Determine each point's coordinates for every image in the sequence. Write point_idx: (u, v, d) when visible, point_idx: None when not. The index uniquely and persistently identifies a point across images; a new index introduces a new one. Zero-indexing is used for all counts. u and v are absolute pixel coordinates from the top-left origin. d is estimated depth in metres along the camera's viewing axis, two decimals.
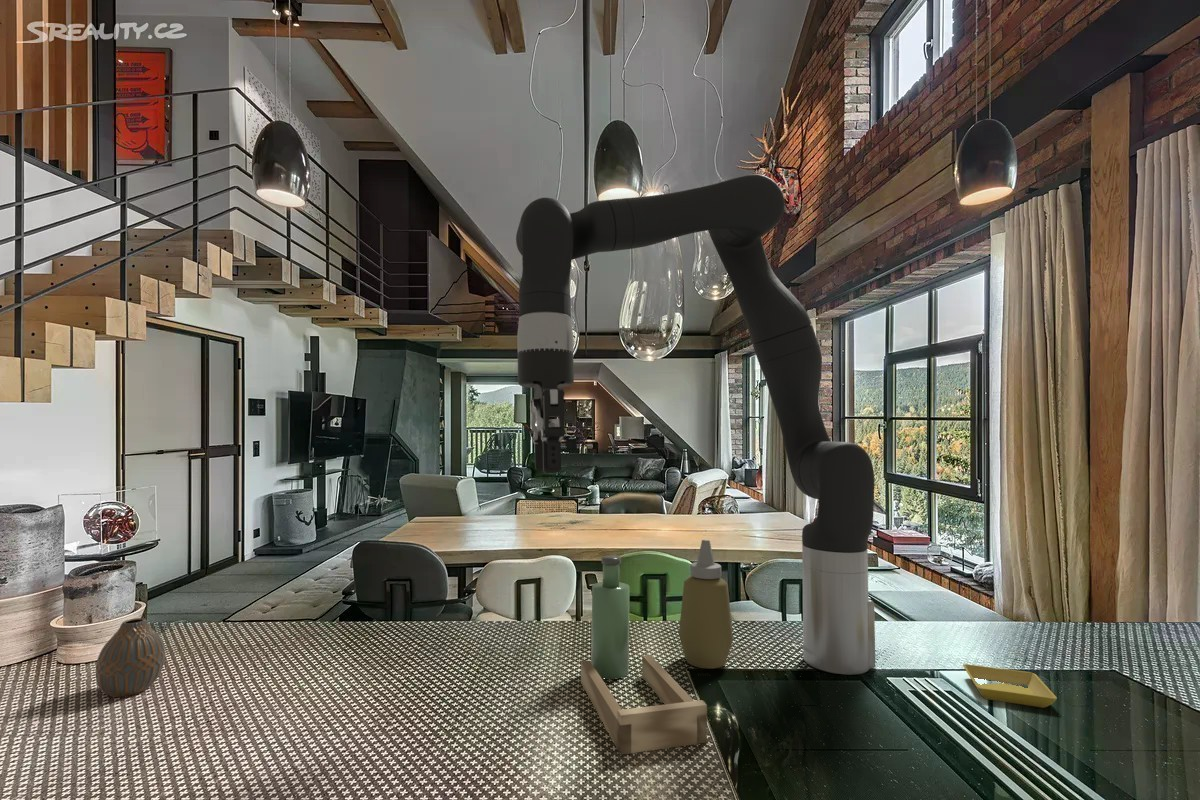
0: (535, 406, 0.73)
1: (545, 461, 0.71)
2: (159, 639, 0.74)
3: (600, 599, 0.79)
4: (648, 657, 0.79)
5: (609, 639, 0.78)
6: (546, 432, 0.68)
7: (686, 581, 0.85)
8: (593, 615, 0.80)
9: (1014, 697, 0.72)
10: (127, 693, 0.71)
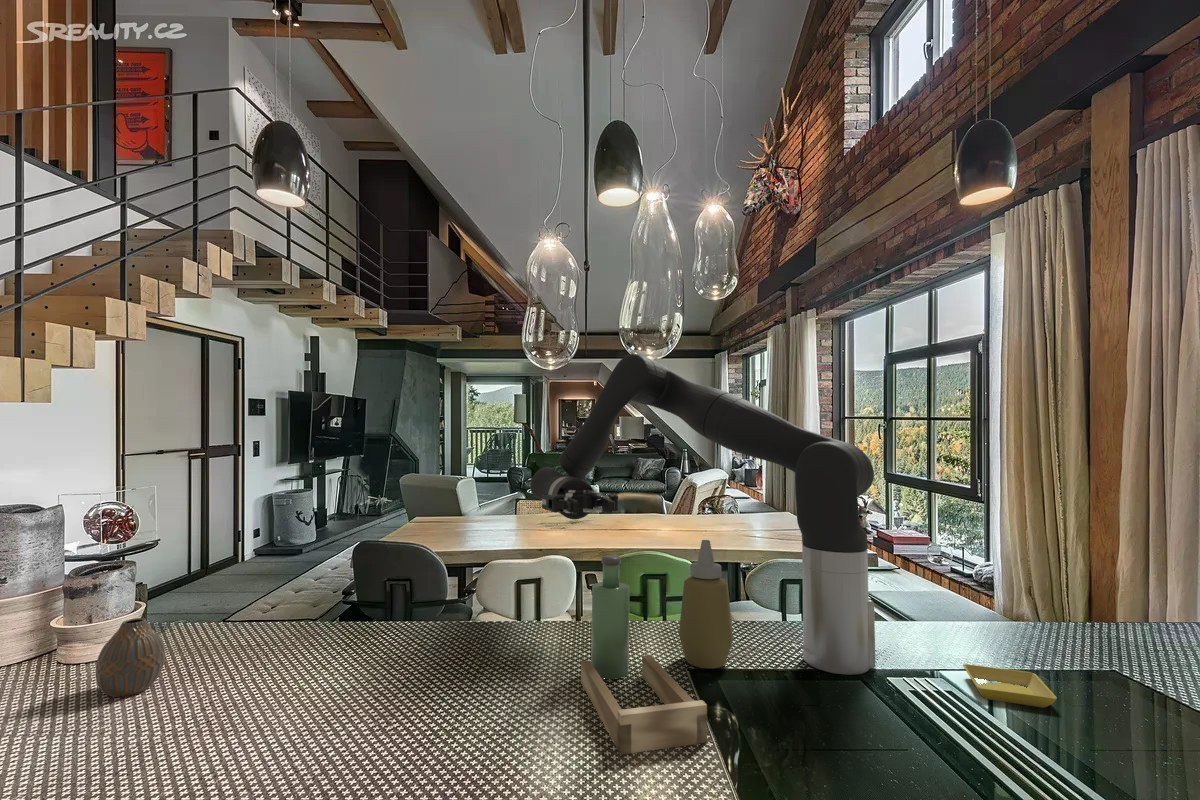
0: None
1: (571, 512, 0.93)
2: (159, 639, 0.74)
3: (600, 599, 0.79)
4: (648, 657, 0.79)
5: (609, 639, 0.78)
6: (552, 510, 0.95)
7: (686, 581, 0.85)
8: (593, 615, 0.80)
9: (1014, 697, 0.72)
10: (127, 693, 0.71)
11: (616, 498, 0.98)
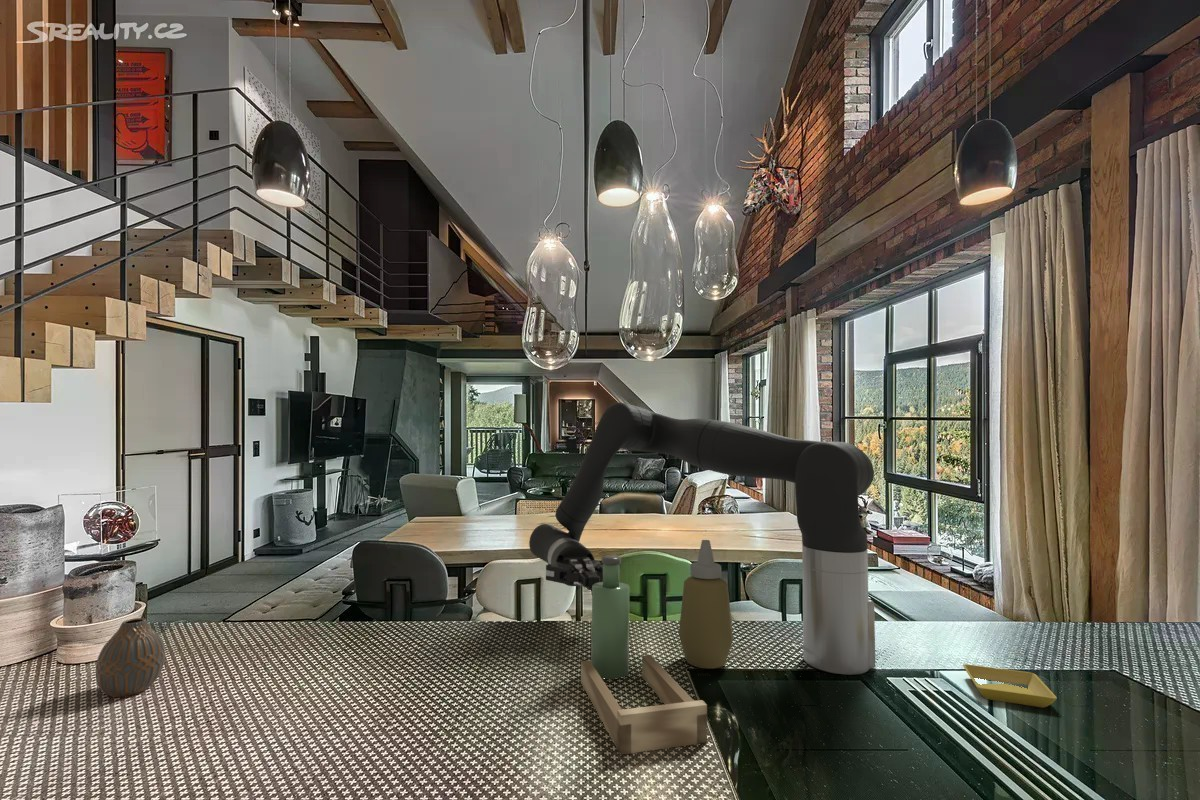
0: None
1: (586, 586, 0.92)
2: (159, 639, 0.74)
3: (600, 599, 0.79)
4: (648, 657, 0.79)
5: (609, 639, 0.78)
6: (568, 583, 0.94)
7: (686, 581, 0.85)
8: (593, 615, 0.80)
9: (1014, 697, 0.72)
10: (127, 693, 0.71)
11: (602, 570, 0.96)
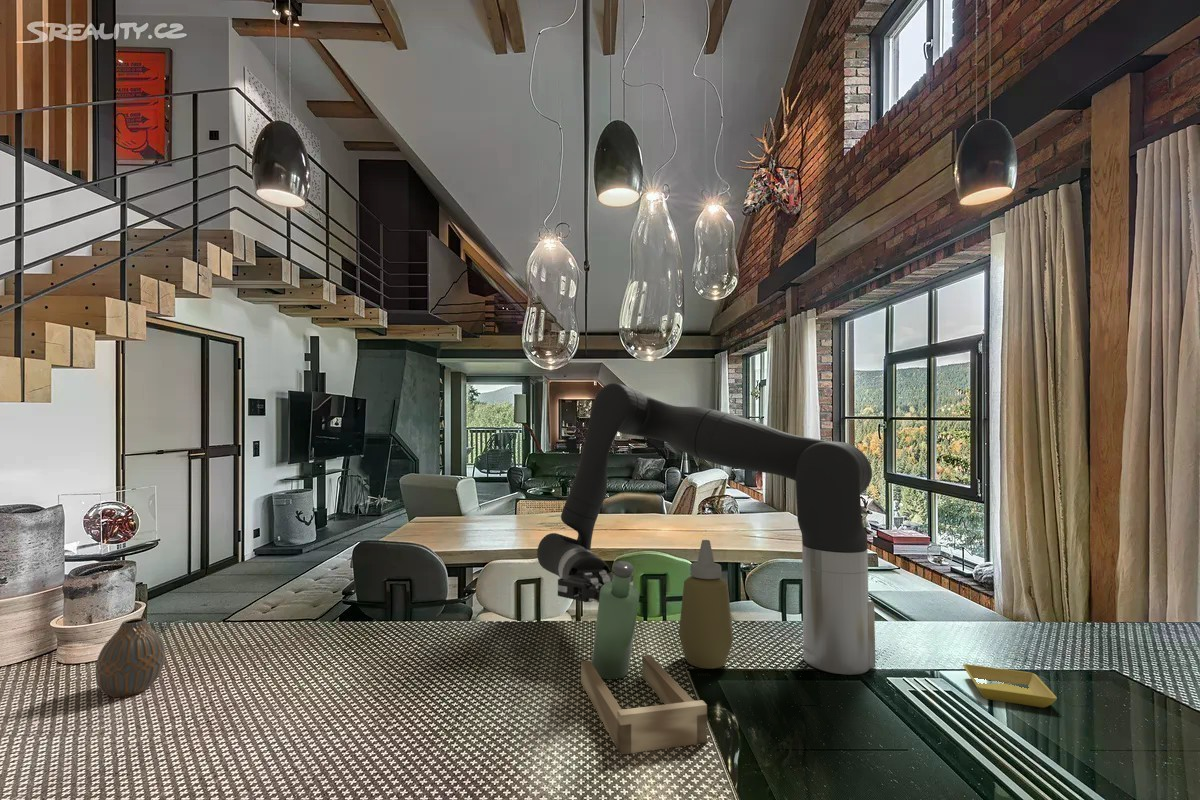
0: None
1: None
2: (159, 639, 0.74)
3: (607, 609, 0.76)
4: (648, 657, 0.79)
5: (613, 646, 0.77)
6: (583, 600, 0.85)
7: (686, 581, 0.85)
8: (599, 619, 0.77)
9: (1014, 697, 0.72)
10: (127, 693, 0.71)
11: None
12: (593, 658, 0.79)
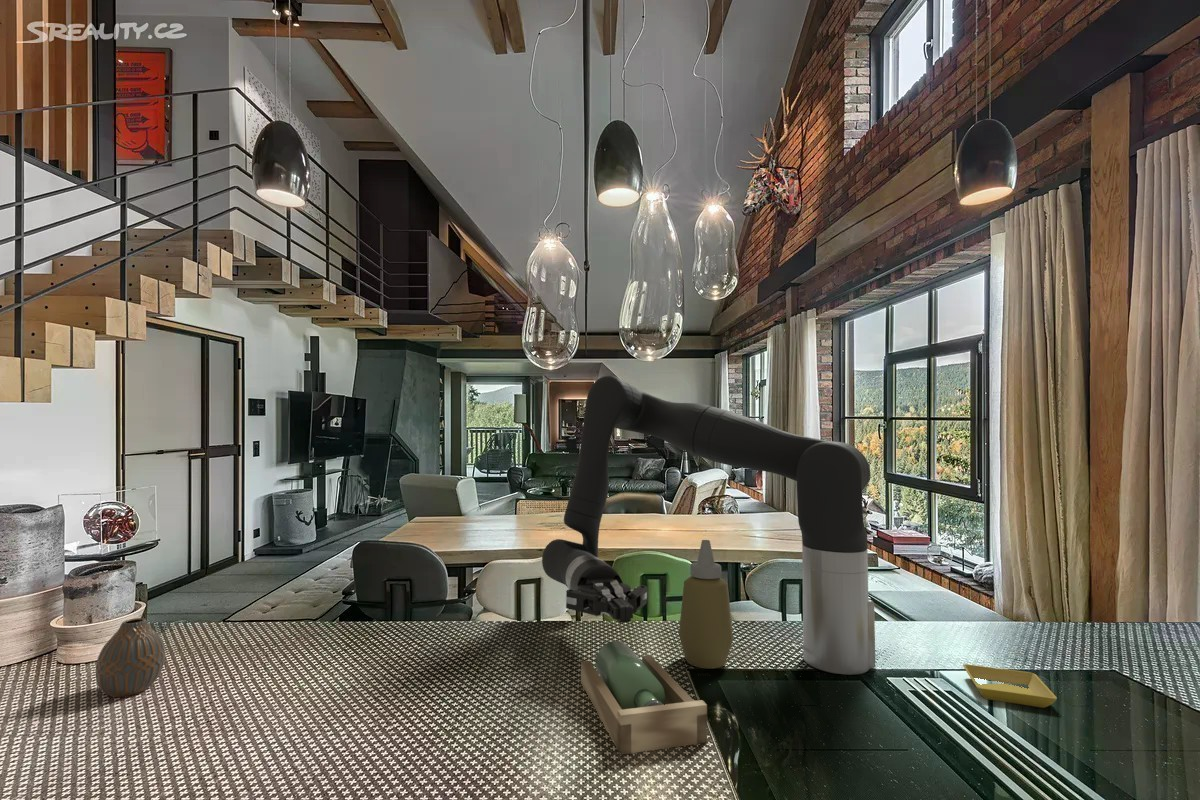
0: None
1: None
2: (159, 639, 0.74)
3: None
4: (648, 657, 0.79)
5: None
6: (594, 614, 0.78)
7: (686, 581, 0.85)
8: (612, 692, 0.70)
9: (1014, 697, 0.72)
10: (127, 693, 0.71)
11: (634, 597, 0.80)
12: (598, 669, 0.76)
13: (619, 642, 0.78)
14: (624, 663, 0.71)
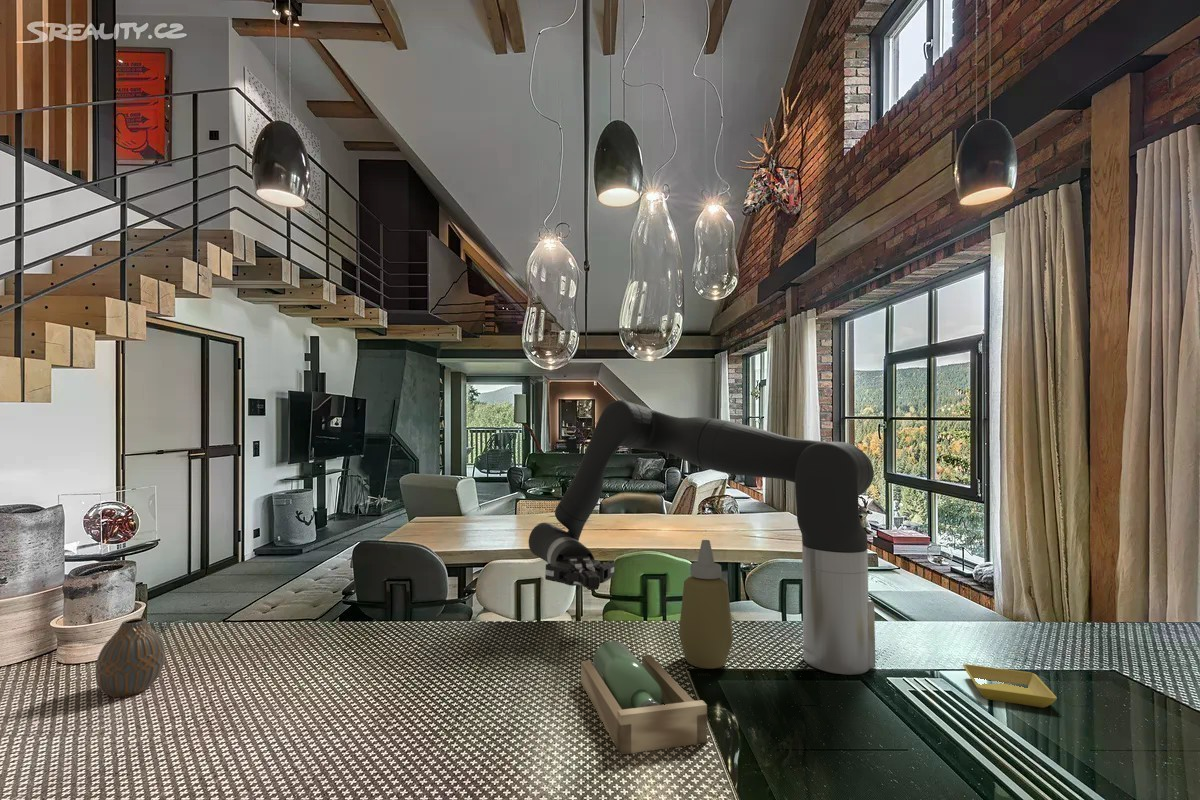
0: None
1: None
2: (159, 639, 0.74)
3: None
4: (648, 657, 0.79)
5: None
6: (568, 583, 0.94)
7: (686, 581, 0.85)
8: None
9: (1014, 697, 0.72)
10: (127, 693, 0.71)
11: (602, 570, 0.96)
12: None
13: (614, 642, 0.78)
14: (618, 665, 0.71)
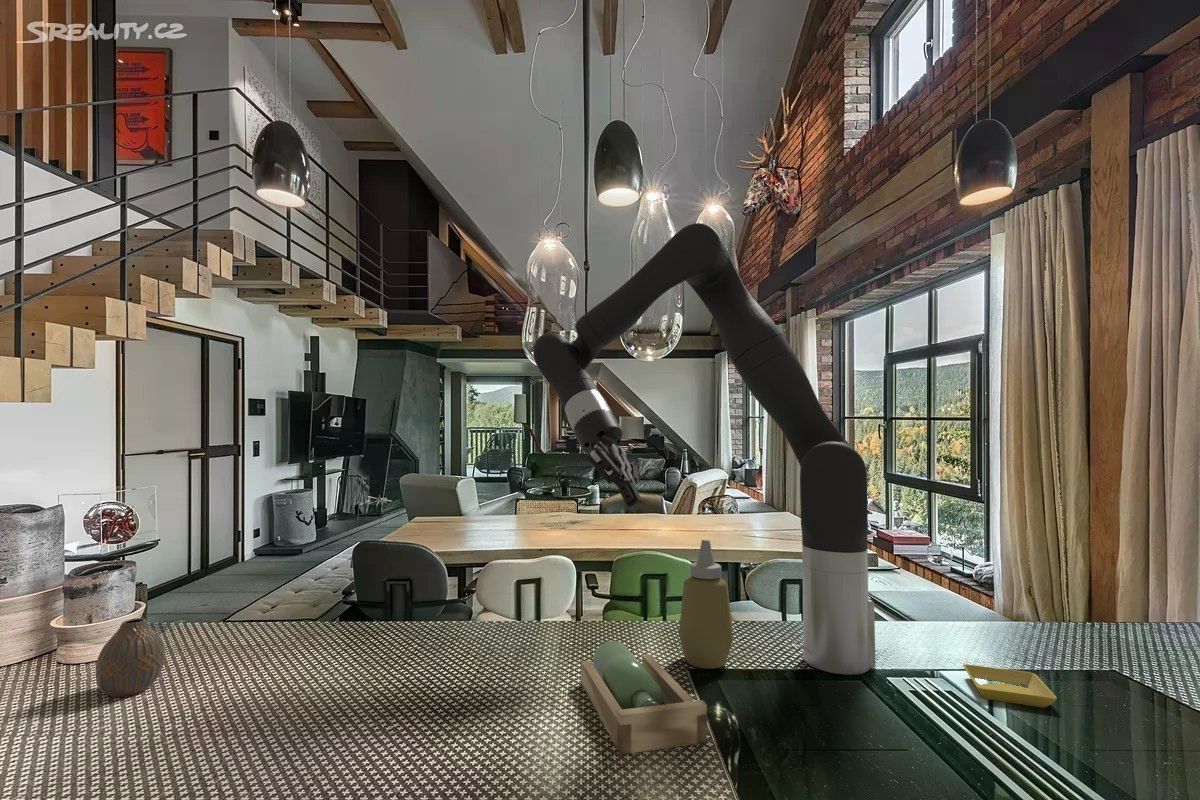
0: None
1: None
2: (159, 639, 0.74)
3: None
4: (648, 657, 0.79)
5: None
6: (609, 482, 0.89)
7: (686, 581, 0.85)
8: None
9: (1014, 697, 0.72)
10: (127, 693, 0.71)
11: (636, 482, 0.93)
12: None
13: (613, 642, 0.78)
14: (617, 665, 0.71)
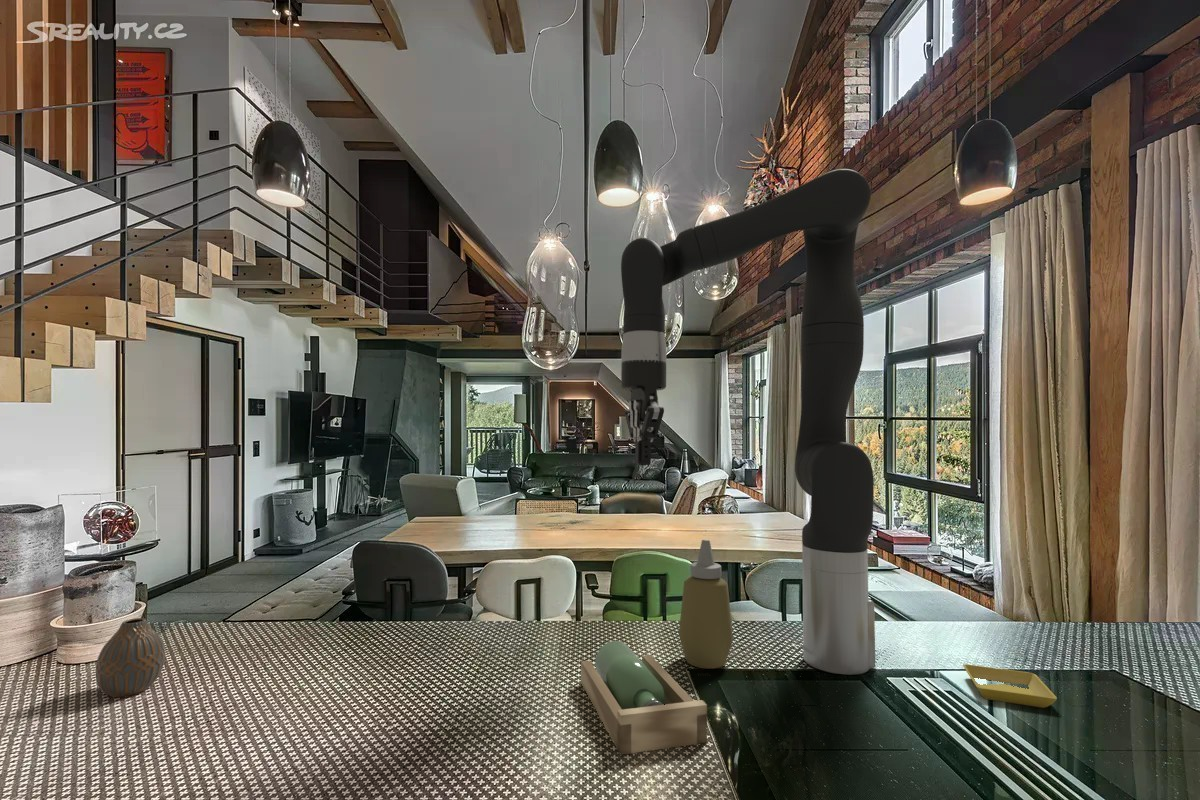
0: (637, 410, 0.92)
1: (639, 456, 0.93)
2: (159, 639, 0.74)
3: None
4: (648, 657, 0.79)
5: None
6: (643, 437, 0.91)
7: (686, 581, 0.85)
8: (612, 693, 0.70)
9: (1014, 697, 0.72)
10: (127, 693, 0.71)
11: None
12: (598, 669, 0.76)
13: (618, 642, 0.78)
14: (623, 663, 0.71)
